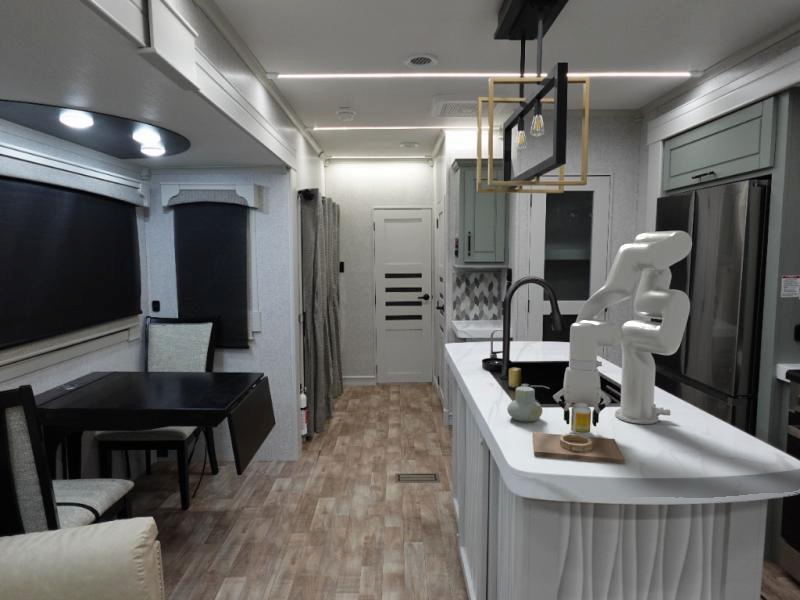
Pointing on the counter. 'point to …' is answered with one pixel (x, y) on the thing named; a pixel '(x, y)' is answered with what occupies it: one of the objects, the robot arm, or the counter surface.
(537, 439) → the wooden board
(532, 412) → the air freshener
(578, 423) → the supplement bottle
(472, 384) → the counter surface
